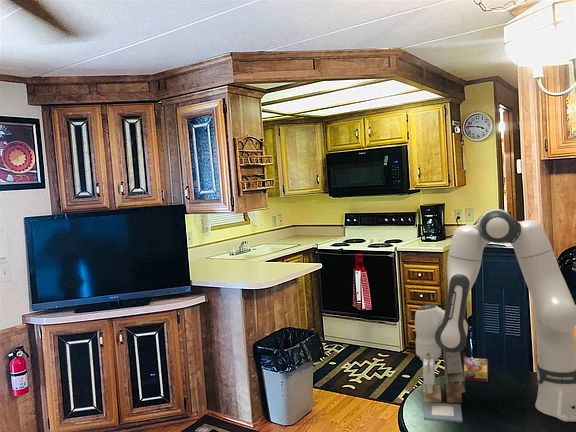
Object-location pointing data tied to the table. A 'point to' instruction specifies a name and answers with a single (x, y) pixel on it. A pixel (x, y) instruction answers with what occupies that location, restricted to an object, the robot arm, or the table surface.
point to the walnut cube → (453, 393)
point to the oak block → (434, 396)
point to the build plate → (443, 412)
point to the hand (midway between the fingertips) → (430, 387)
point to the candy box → (476, 369)
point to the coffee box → (454, 368)
